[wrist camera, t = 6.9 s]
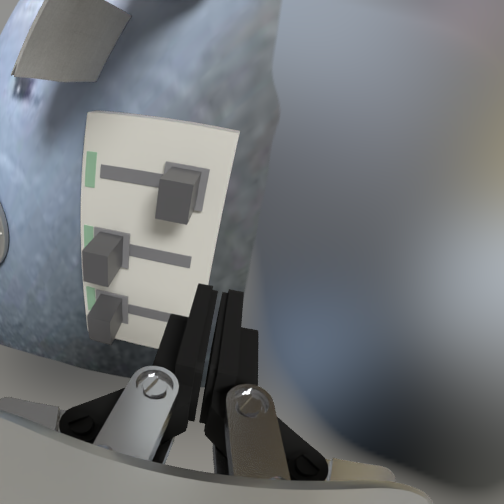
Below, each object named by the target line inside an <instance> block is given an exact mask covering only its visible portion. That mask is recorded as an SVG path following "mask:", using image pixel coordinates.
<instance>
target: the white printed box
mask: <svg viewBox="0 0 504 504" xmlns="http://www.w3.org/2000/svg"><path fill="white" fill-rule="evenodd" d="M130 18H131V15H129V14H128V13H126V12H124V11H123V10H121V9H119V8H117V7H116V6H114V5H112V4H110V3H108V2H107V1H105V0H44V2H43V4H42V6H41V8H40V10H39V12H38V14H37V16H36V18H35V20H34V22H33V24H32V26H31V28H30V30H29V32H28V34H27V37H26V39H25V41H24V43H23V46H22V48H21V50H20V53H19V55H18V58H17V60H16V63H15V65H14V68H13V71H12V73H11V75H14V77H27V78H36V79H44V80H51V81H58V82H96V81H97V79H98V77H99V75H100V73H101V71H102V69H103V67H104V65H105V63H106V61H107V59H108V57H109V55H110V53H111V51H112V49H113V47H114V45H115V44H116V42H117V40H118V38H119V36H120V35H121V33H122V31H123V29H124V28H125V26H126V24H127V23H128V21H129V19H130Z"/></svg>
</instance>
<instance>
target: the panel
mask: <svg viewBox="0 0 504 504" xmlns="http://www.w3.org/2000/svg"><path fill="white" fill-rule="evenodd" d="M239 133H240V131H237V130H232V129H227V128H222V127H217V126H211V125H206V124H200V123H194V122H188V121H182V120H176V119H169V118H162V117H155V116H147V115H139V114H131V113H121V112H111V111H100V110H97V111H91V112H88V113H87V121H86V130H85V140H84V152H83V165H82V184H81V254H82V250H83V249H84V248H85V247H86V246H87V245H88V244H89V242H90V241H91V240H92V239H93V238H94V227H100V228H105V229H110V230H115V231H120V232H125V233H130V251H129V268H128V269H126V268H122V267H121V268H120V269H119V271H118V273H117V274H116V276H115V277H114V279H113V280H112V282H111V284H110V285H109V287H105V286H101V285H97V284H93V283H89V282H85V281H83V287H84V299H85V309H86V318H87V315H88V314H89V312H90V310H91V309H92V307H93V305H94V304H95V302H96V289H99V290H103V291H107V292H111V293H116V294H120V295H124V296H128V324H125V323H121V325H120V328H119V330H118V332H117V334H116V336H115V338H116V339H120V340H123V341H127V342H131V343H136V344H140V345H144V346H148V347H153V348H157V349H158V348H159V345H160V343H161V340H162V337H163V334H164V331H165V328H166V325H167V322H168V320H169V317H170V315H171V313H172V314H177V315H181V316H186V317H189V314H190V310H191V307H192V303H193V300H194V297H195V293H196V290H197V286H198V283H200V284H205V285H208V283H209V277H210V272H211V267H212V262H213V256H214V251H215V246H216V241H217V236H218V231H219V226H220V221H221V216H222V212H223V207H224V202H225V197H226V192H227V188H228V183H229V178H230V174H231V169H232V165H233V160H234V156H235V151H236V147H237V142H238V138H239ZM166 161H168V162H174V163H180V164H185V165H191V166H196V167H202V168H207V169H210V172H209V177H208V182H207V188H206V193H205V198H204V204H203V209H202V212H201V211H196V210H194V211H193V213H192V215H191V217H190V220H189V222H188V224H187V225H185V224H180V223H175V222H170V221H165V220H159V219H155V213H156V205H157V197H158V189H159V181H160V178H161V177H162V176H163V175H164V169H165V162H166ZM82 273H83V264H82ZM87 327H88V323H87Z"/></svg>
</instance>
